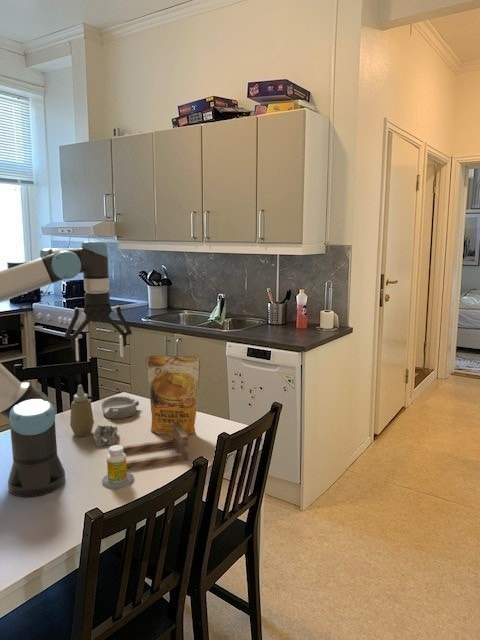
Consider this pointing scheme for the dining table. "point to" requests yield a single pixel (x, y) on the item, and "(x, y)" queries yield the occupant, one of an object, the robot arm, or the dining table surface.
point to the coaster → (118, 485)
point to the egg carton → (105, 435)
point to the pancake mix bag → (173, 392)
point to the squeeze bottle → (81, 414)
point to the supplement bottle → (116, 464)
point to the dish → (119, 407)
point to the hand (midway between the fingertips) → (100, 358)
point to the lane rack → (178, 442)
